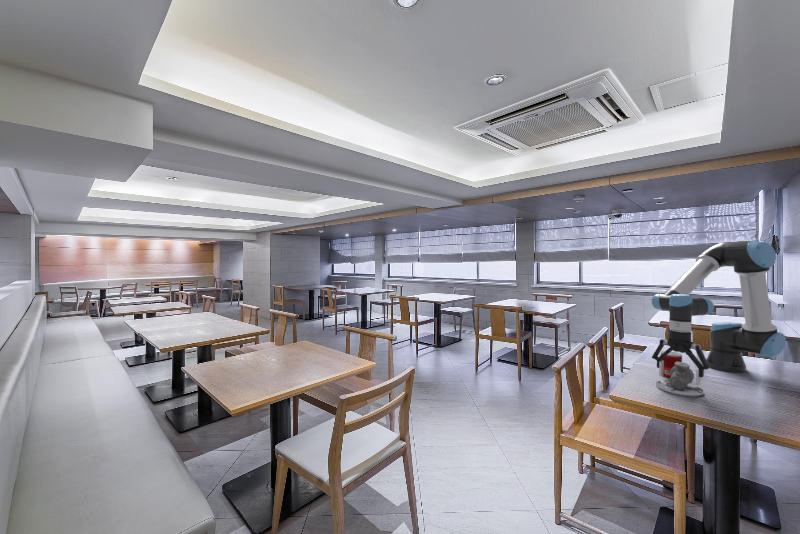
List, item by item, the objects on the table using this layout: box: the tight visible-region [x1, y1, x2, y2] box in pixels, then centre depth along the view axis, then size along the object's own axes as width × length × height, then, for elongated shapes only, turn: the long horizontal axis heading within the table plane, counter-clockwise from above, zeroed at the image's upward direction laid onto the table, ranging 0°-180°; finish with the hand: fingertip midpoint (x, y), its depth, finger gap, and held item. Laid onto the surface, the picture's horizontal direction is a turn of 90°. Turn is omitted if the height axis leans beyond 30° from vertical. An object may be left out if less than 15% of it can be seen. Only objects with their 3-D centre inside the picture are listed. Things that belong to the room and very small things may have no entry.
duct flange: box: [655, 379, 704, 398], centre depth 151 cm, size 16×16×2 cm
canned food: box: [660, 350, 683, 379], centre depth 167 cm, size 8×8×11 cm
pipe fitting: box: [668, 361, 695, 390], centre depth 150 cm, size 12×8×10 cm, turn 132°
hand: (679, 380), depth 150 cm, fingers open, 12 cm apart
